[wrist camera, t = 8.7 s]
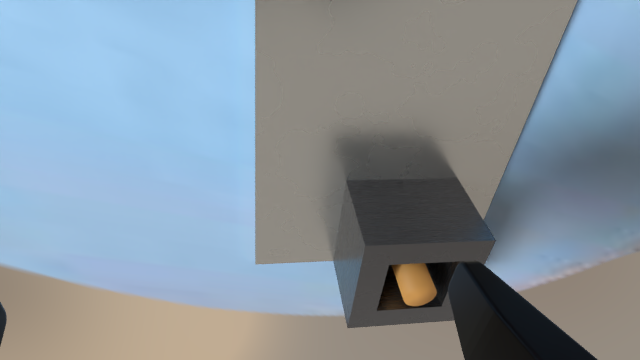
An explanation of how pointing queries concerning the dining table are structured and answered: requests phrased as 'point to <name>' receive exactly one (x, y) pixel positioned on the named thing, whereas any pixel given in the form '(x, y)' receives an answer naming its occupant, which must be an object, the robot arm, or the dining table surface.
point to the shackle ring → (403, 246)
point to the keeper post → (414, 283)
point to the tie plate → (387, 103)
